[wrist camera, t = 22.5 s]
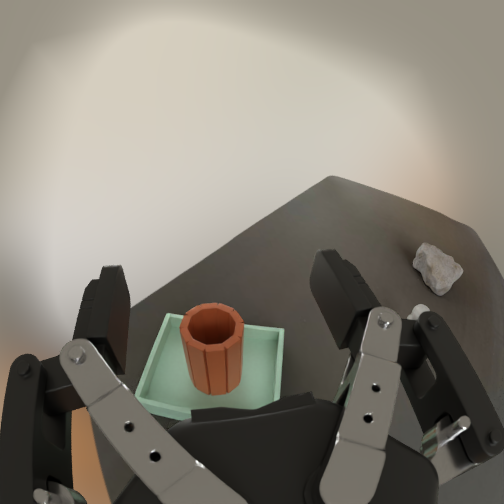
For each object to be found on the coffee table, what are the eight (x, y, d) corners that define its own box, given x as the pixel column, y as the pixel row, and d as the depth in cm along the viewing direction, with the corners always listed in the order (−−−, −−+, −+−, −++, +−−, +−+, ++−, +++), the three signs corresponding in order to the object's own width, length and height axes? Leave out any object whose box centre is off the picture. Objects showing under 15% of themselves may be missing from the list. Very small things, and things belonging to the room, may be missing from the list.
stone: (400, 272, 51) (411, 246, 48) (420, 259, 55) (430, 235, 52) (439, 303, 45) (453, 277, 41) (456, 286, 48) (468, 263, 45)
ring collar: (184, 390, 31) (172, 345, 26) (197, 348, 36) (189, 298, 31) (237, 399, 31) (238, 356, 25) (244, 356, 36) (247, 306, 30)
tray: (139, 410, 29) (132, 400, 27) (169, 326, 40) (166, 312, 38) (274, 434, 28) (277, 426, 26) (281, 341, 39) (284, 328, 37)
